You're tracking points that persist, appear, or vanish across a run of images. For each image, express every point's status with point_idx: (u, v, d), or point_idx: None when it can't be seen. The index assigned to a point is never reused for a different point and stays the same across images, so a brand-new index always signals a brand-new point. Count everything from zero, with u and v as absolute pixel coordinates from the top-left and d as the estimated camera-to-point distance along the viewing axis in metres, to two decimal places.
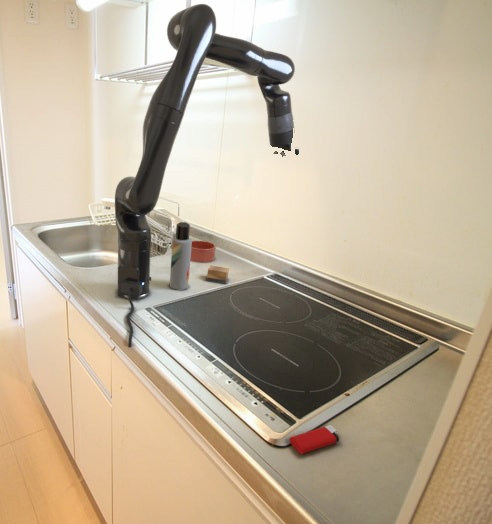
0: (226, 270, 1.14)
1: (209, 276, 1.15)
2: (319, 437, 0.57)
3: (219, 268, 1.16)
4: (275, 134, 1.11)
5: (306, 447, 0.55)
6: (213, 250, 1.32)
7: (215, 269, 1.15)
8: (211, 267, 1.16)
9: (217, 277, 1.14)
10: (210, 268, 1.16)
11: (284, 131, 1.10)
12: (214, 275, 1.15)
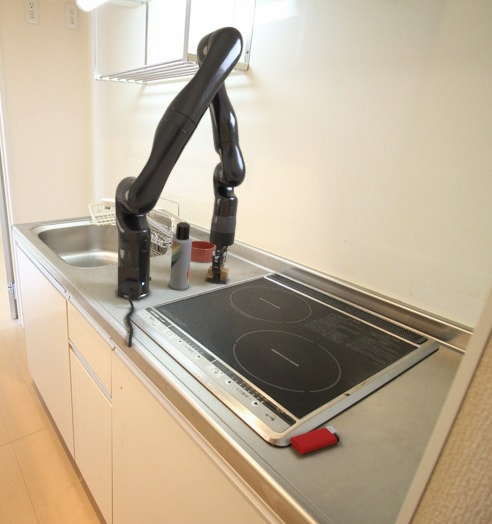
0: (226, 270, 1.14)
1: (209, 276, 1.15)
2: (319, 437, 0.57)
3: None
4: (210, 229, 1.11)
5: (306, 447, 0.55)
6: None
7: None
8: (211, 267, 1.16)
9: None
10: (210, 268, 1.16)
11: (214, 231, 1.09)
12: None
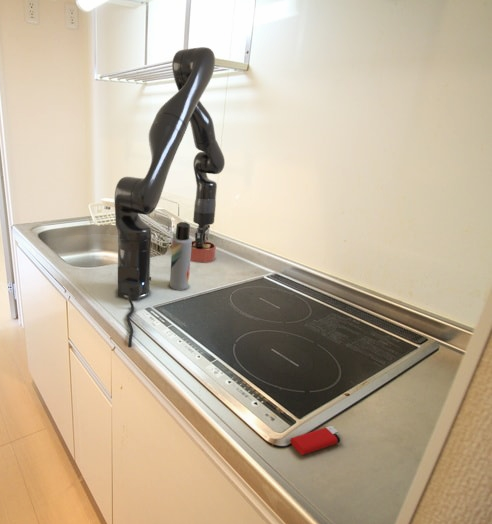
0: (208, 246, 1.34)
1: None
2: (320, 438, 0.56)
3: None
4: (194, 211, 1.31)
5: (307, 448, 0.55)
6: (213, 250, 1.32)
7: None
8: None
9: None
10: (194, 244, 1.35)
11: (197, 211, 1.28)
12: None
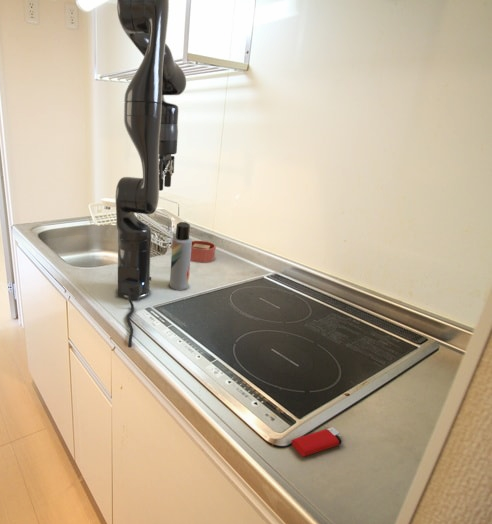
0: (208, 247, 1.34)
1: None
2: (321, 439, 0.56)
3: (202, 245, 1.35)
4: None
5: (308, 449, 0.55)
6: (213, 250, 1.32)
7: (198, 246, 1.35)
8: (195, 245, 1.36)
9: None
10: (194, 245, 1.35)
11: None
12: None
